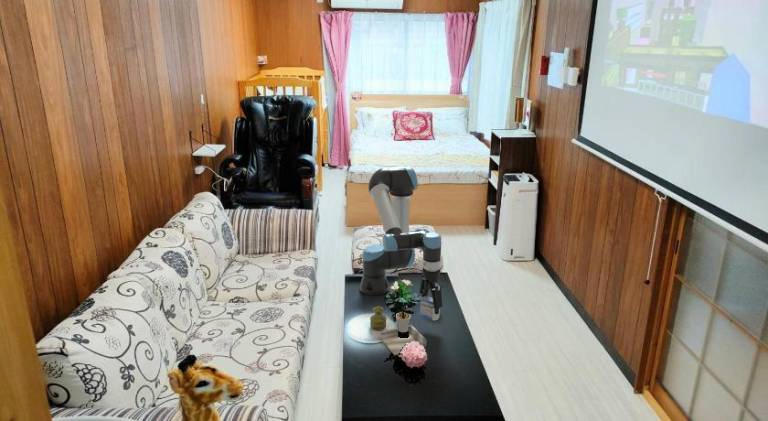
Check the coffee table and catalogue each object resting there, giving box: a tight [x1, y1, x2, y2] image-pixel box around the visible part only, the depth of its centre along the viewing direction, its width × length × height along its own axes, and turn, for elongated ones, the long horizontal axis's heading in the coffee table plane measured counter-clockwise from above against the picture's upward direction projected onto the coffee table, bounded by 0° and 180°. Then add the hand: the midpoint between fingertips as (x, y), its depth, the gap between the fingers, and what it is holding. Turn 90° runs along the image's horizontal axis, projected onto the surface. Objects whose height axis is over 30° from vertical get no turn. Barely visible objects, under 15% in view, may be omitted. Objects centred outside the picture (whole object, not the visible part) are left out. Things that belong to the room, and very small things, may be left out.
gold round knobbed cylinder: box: [369, 305, 387, 332], centre depth 235 cm, size 7×7×10 cm
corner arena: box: [379, 324, 428, 356], centre depth 223 cm, size 14×15×4 cm
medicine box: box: [419, 296, 441, 320], centre depth 232 cm, size 8×4×9 cm, turn 65°
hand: (430, 314), depth 233 cm, fingers closed on medicine box, 9 cm apart
